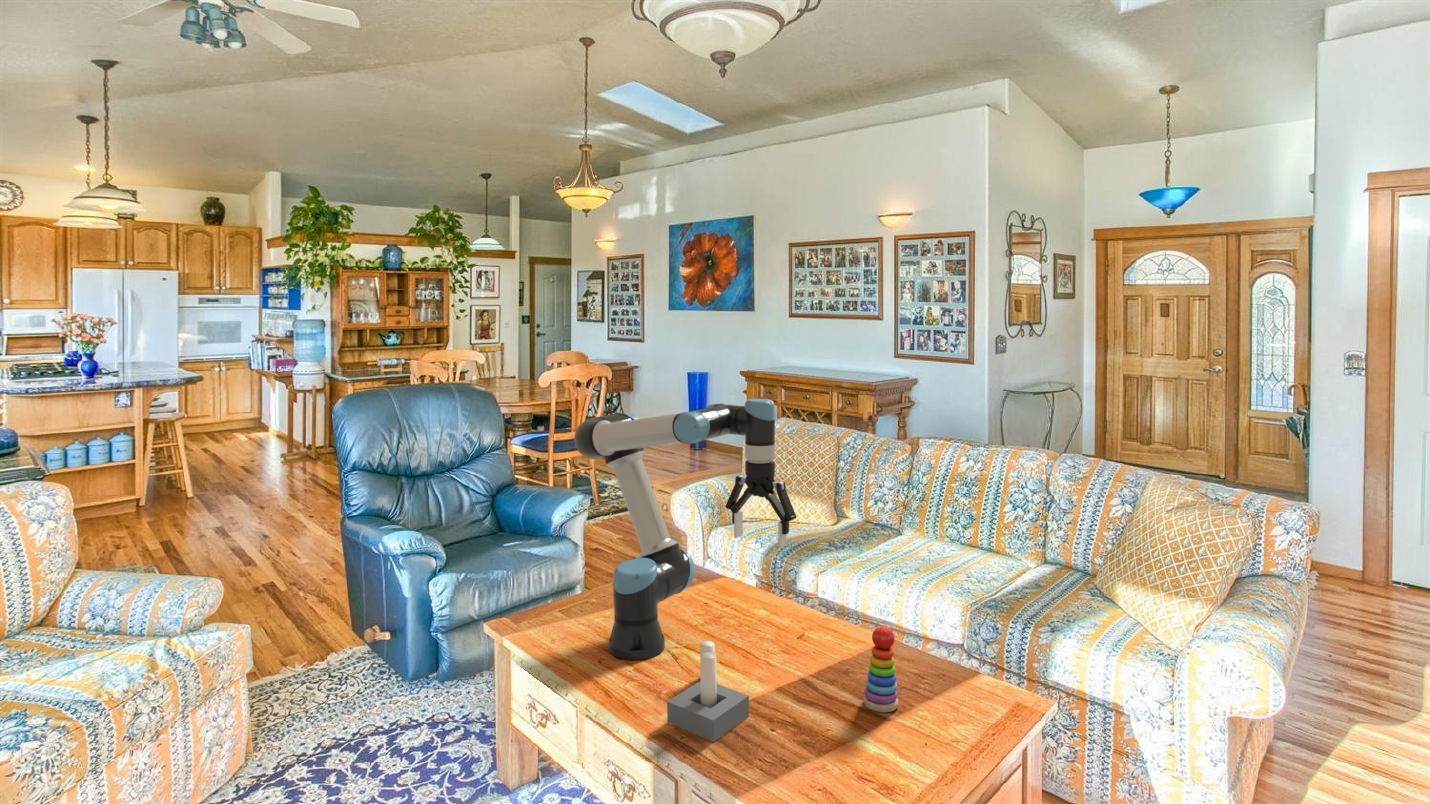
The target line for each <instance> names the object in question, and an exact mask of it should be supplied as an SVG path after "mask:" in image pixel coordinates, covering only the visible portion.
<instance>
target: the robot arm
mask: <svg viewBox="0 0 1430 804" xmlns="http://www.w3.org/2000/svg"><path fill="white" fill-rule="evenodd" d="M725 435H738V436H744V441H745V445H744V459H746V461H745V463H744V464H745V465H744V466H745V467H744V468H745V469H744V470H745V471H744V472H745V475H744V474H740V475H737V476H735V478H734V479H735V480H734V486H733V487H732V490H731V492H730V495H729V496H728V498H727V501H726V504H725V508H726V509H727V510H730V511H731V521H732V524H733V525H734V526H733V527H734V529H733V532H734V534H733V535H734V538H740V537H742V536H743V535H744V534H743V533H744V531H743V529H744V527H743V526H744V524H743V523H744V522H743V521H744V520H743V516H744V515H743V514H744V513H743V512H744V511H742V508H743V507H744V505H746V503H747V501H748V500H749V499H750V498H751V497H752V496H753V497H759V498H765V500H767V502H769V505H770V506H771V507H772V509H773V510H774V512H775V514H776V516H777V517H778V519H779V521H778V522H777V524H778V525H777V536H778V537H777V547H778V548H780V549H781V548H783V547H785V546H787V535H788V534H789V533H790V522H791V521H793V520H796V519H797V514H796V511H795V509H794V507H793V504H792V502H791V500H790V497H789V494H788V492H787V488H786V481H785V480H781V481H775V474H776V462H775V460H774V459H776V453H775V452H776V441H775V440H776V439H775V437H776V436H775V435H776V407H775V402H774V401H773V400H772V399H769V398H750V399H747V400H746V401H745V403H744V405H736V404H735V405H734V404H725V403H710V404H708V405H707V406H706V408H704V409H699V410H692V411H687V412H679V413H674V414H673V413H672V414H665V415H658V416H653V417H652V416H651V417H645V418H639V417H638V416H637V415H634V414H633V413H631V412H615V413H611V414H607V415H601V416H597V417H596V416H595V417H591V418H588V419H586V420H584V421H582V422H581V423H580V424H579V425H578V426H577V428H576V430H575V433H574V436H573V439H574V445H575V448H576V450H577V452H579V453H580V454H581V455H582V456H583V457H585V458H587V459H590V460H601V459H604V462H605V465H606V466H607V467H608V468H610V469H612V470H613V472H614V473H615V477H616V479H617V482H618V485H619V488H620V491H621V494H622V497H623V499H624V502H625V505H626V508H627V512H628V515H629V517H630V519H631V520H630V521H631V522H632V525H633V527H634V530H635V533H636V537H637V539H638V542H639V544H640V547H641V550H640V553H639V555H638V557H635V558H634V559H633V558H630V559H626V560H624V561H623V562H620V563H619V564H618V565H617V566H616V567H615V568H614V571H613V579H612V587H613V610H614V611H613V614H614V622H613V626H612V628H611V631H610V632H611V633H610V637H609V638H608V652H609V654H610V655H612V654H613V655H614V656H613V655H612V656H613V657H615V656H617V657H618V658H617V657H616V658H617V659H620V658H622V660H625V659H627V660H628V661H639V660H646V659H651V658H653V657H657V656H658V655H660V654H661V653H662V652H664V650H665V646H666V643H665V641H666V640H665V635H664V634H663V631H662V628H661V624H660V622H659V616H658V615H659V614H658V611H659V608H658V605H659V603H661V602H663V601H665V600H667V599H669V598H671V597H672V596H674V595H677V594H680V593H682V592H683V591H684V590H686V589H687V588H688V587H690V586H691V584H692V582H693V580H694V577H695V573H696V570H695V569H696V567H695V563H694V560H693V558H692V556H691V555H690V553H688V552H687V551H686V550H685V549H683V548H680V545H679V542H678V541H677V540H674V539H673V538H671V536H670V532H669V530H668V528H667V526H666V525H667V524H666V522H665V520H664V517H663V514H662V511H661V508H660V505H659V502H658V500H657V497H656V494H655V492H654V489H653V485H652V483H651V480H650V477H649V475H648V473H647V469H646V467H645V466H646V465H645V464H644V461H643V459H644V458H643V457H644V455H645V453H646V450H645V448H651V447H659V446H667V445H676V444H696V443H700V442H702V441H706V440H709V439H713V438H717V437H721V436H725ZM744 485H746V489H745V490H743V493H742V495H740V494H741V492H742V489H743V488H744ZM627 660H626V661H627Z"/></svg>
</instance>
